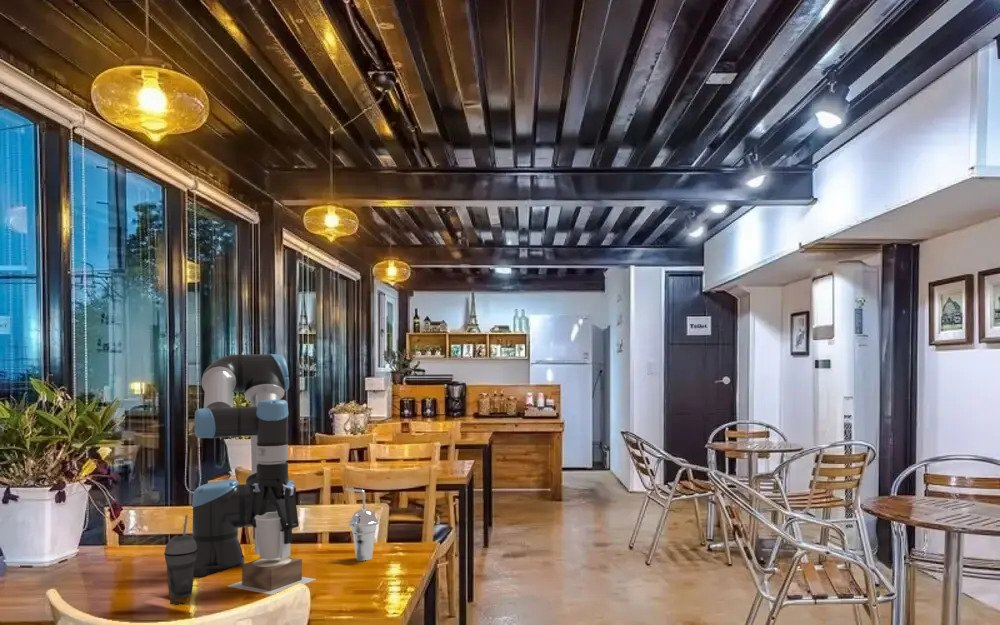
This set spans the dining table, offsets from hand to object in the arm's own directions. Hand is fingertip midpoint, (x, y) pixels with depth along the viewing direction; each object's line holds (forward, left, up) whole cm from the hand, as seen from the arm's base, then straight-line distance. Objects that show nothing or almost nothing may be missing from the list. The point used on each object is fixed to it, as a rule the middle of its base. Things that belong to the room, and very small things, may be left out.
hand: (272, 554), depth 183 cm
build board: (0, 0, -8) cm, 8 cm away
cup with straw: (+2, +32, -8) cm, 33 cm away
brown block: (0, 0, -7) cm, 7 cm away
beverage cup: (-12, -17, -8) cm, 22 cm away
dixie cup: (0, 0, 0) cm, 0 cm away
